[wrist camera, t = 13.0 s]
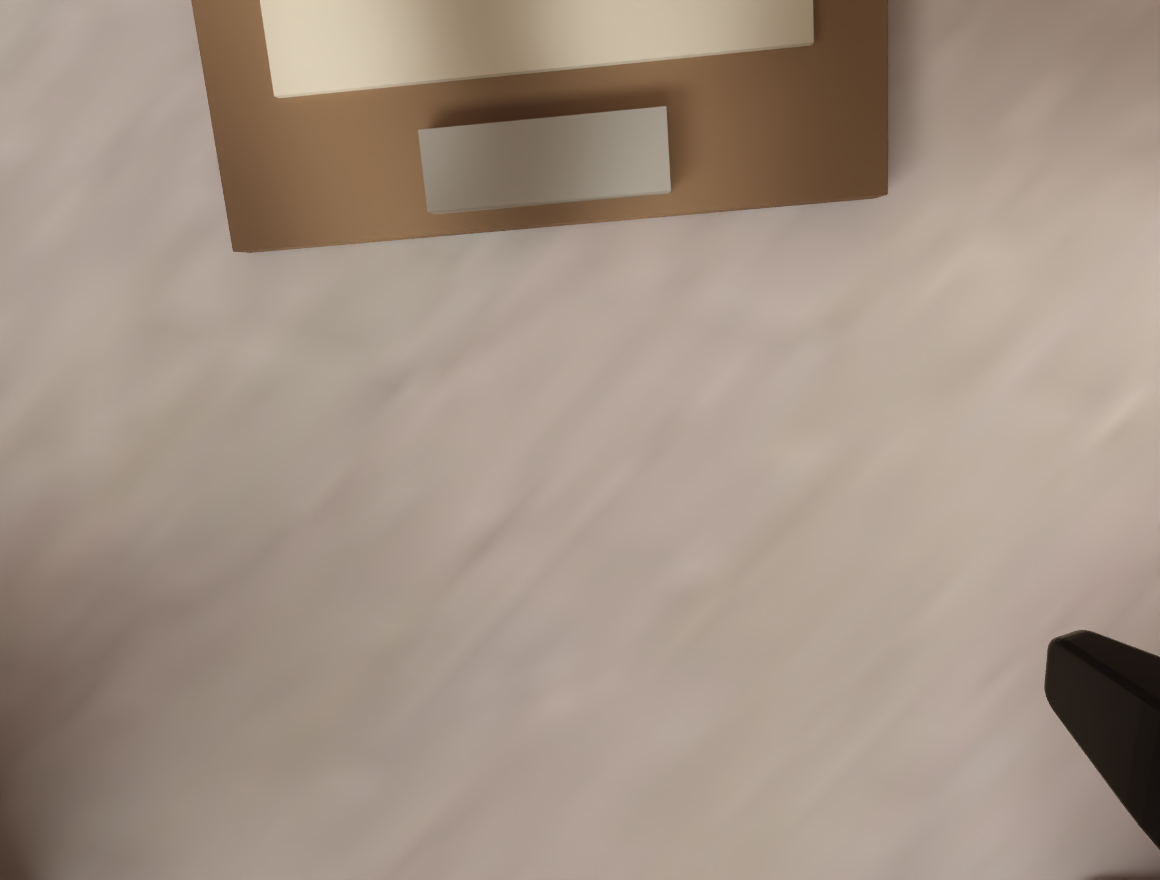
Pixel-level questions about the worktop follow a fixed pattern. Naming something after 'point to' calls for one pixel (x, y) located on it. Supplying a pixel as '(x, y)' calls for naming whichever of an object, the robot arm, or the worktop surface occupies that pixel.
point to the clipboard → (535, 112)
